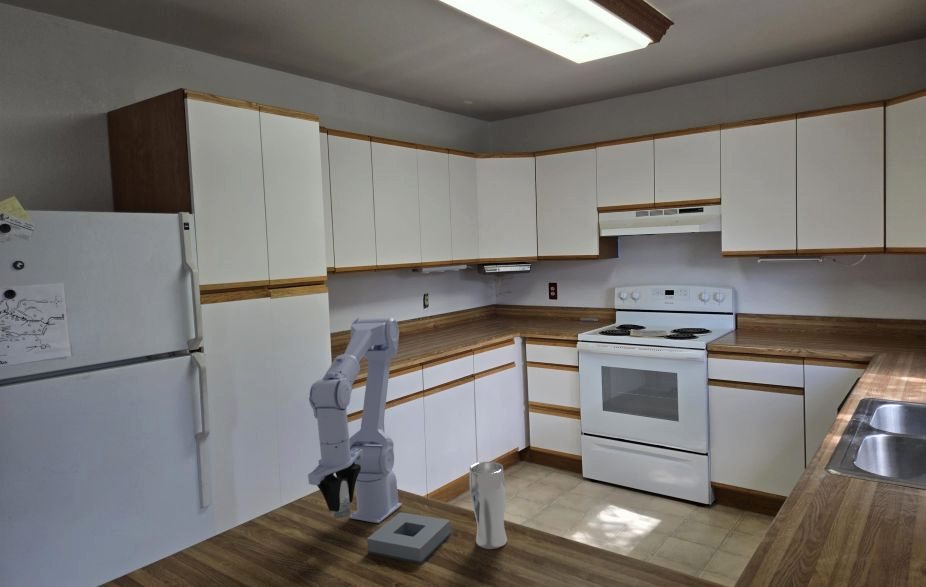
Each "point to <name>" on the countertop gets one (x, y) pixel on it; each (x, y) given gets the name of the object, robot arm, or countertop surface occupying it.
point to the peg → (343, 500)
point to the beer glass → (488, 503)
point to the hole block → (409, 537)
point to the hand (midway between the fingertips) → (340, 505)
